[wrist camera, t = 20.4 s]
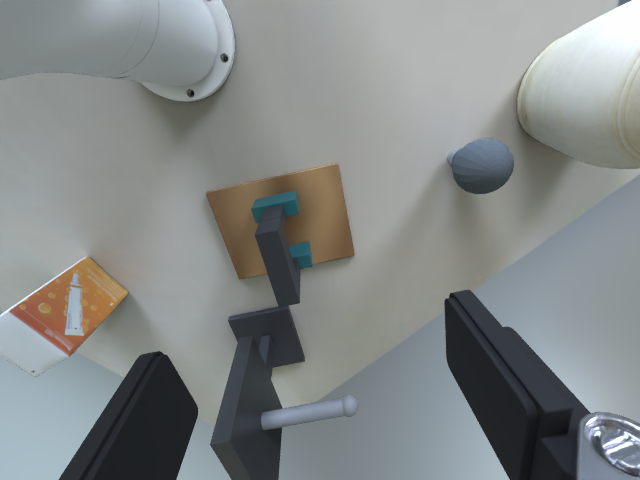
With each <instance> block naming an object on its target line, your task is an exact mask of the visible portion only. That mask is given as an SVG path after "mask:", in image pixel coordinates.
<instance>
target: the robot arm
mask: <svg viewBox="0 0 640 480" xmlns="http://www.w3.org/2000/svg"><path fill="white" fill-rule="evenodd" d="M234 53H235V40H234V32H233V28H232V23H231V20H230V17H229V15H228V12H227V10H226V8H225V6H224V4H223V3H222V1H221V0H212V1H209V0H0V80H2V79H8V78H13V77H18V76H24V75H29V74H35V73H47V72H56V73H73V74H82V75H91V76H97V77H105V78H113V79H122V80H130V81H138V82H140V83H142V84H143V85H144V86H145V87H147V88H148V89H149V90H151V91H152V92H154V93H156V94H158V95H160V96H162V97H164V98H167V99H171V100H174V101H185V102H186V101H196V100H200V99H204V98H206V97H208V96H210V95H212V94H213V93H214V92H216V91H217V90H218V89H219V88H220V87H221V86H222V84H223V83H224V82H225V81H226V79H227V77H228V75H229V73H230V71H231V68H232V64H233V61H234ZM224 57H227V58H228V61H227V62H225V61H224ZM192 91H194V96H193V95H192V94H191V92H192ZM445 328H446V355H447V356H446V357H447V363H448V366H449V368H450V370H451V372H452V374H453V376H454V378H455V380H456V381H457V383H458V385H459V387H460V389H461V391H462V393H463V394H464V396H465V398H466V400H467V402H468V403H469V405H470V407H471V409H472V411H473V413H474V414H475V416H476V418H477V420H478V422H479V424H480V426H481V427H482V429H483V431H484V433H485V435H486V437H487V438H488V440H489V442H490V444H491V446H492V448H493V449H494V451H495V453H496V455H497V457H498V459H499V460H500V462H501V464H502V466H503V468H504V470H505V471H506V473H507V475H508V477H509V479H510V480H640V424H639V423H637V422H635V421H633V420H630V419H628V418H626V417H623V416H620V415H616V414H612V413H607V412H595V413H590V412H589V411H588V410H587V409H586V408H585V407H584V405H583V404H582V403H581V402H580V401H579V400H578V399H577V398H576V397H575V396H574V394H573V393H572V392H571V391H570V390H569V389H568V388H567V387H566V386H565V385H564V384H563V382H562V381H561V380H560V379H559V378H558V377H557V376H556V375H555V374H554V373H553V372H552V370H550V368H549V367H548V366H547V365H546V364H545V363H544V362H543V361H542V360H541V359H540V357H539V356H538V355H537V354H536V353H535V352H534V351H533V350H532V349H531V348H530V347H529V345H528V344H527V343H526V342H525V341H524V340H523V339H522V338H521V337H520V336H519V335H518V333H517V332H516V331H514V330H513V329H512V328H510V327H502V326H501V325H500V323H499V322H498V321H497V320H496V319H495V318H494V316H493V315H492V314H491V313H490V312H489V311H488V310H487V309H486V307H484V305H483V304H482V303H481V302H480V301H479V299H478V298H477V297H476V296H475V295H474V294H473V293H472V292H471V291H470V290H464V291H459V292H454V293H450V295H449V298H448V299H445ZM197 416H198V407H197V404H196V403H195V401H194V399H193V398H192V396H191V394H190V393H189V391H188V389H187V387H186V386H185V384H184V382H183V381H182V379H181V377H180V376H179V374H178V372H177V371H176V369H175V367H174V366H173V364H172V362H171V360H170V359H169V357H168V356H167V355H164V354H163V353H162V352H160V351H157V352H152V353H147V354H142V355H140V356H139V357H138V358H137V360H136V361H135V363H134V364H133V366H132V368H131V369H130V371H129V372H128V374H127V375H126V377H125V378H124V380H123V381H122V383H121V385H120V386H119V388H118V389H117V391H116V392H115V394H114V395H113V397H112V398H111V400H110V401H109V403H108V404H107V406H106V408H105V409H104V411H103V412H102V414H101V415H100V417H99V418H98V420H97V421H96V423H95V425H94V426H93V428H92V429H91V431H90V432H89V434H88V435H87V437H86V438H85V440H84V441H83V443H82V445H81V446H80V448H79V449H78V451H77V452H76V454H75V455H74V457H73V458H72V460H71V461H70V463H69V465H68V466H67V468H66V469H65V471H64V472H63V474H62V475H61V477H60V479H59V480H176V478H177V476H178V473H179V470H180V467H181V464H182V461H183V458H184V455H185V452H186V449H187V446H188V443H189V440H190V437H191V434H192V431H193V428H194V426H195V422H196V419H197Z"/></svg>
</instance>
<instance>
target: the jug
mask: <svg viewBox="0 0 640 480" xmlns="http://www.w3.org/2000/svg"><path fill="white" fill-rule="evenodd" d="M517 114H518V118H519V121H520V124H521V125H522V127H523V129H524V130H525V131H526V132H527V133H528V134H529V135H530V136H531V137H533V138H535V139H537V140H538V141H539V142H541V143H543V144H545V145H547V146H549V147H551V148H553V149H555V150H557V151H559V152H561V153H563V154H566V155H568V156H570V157H572V158H574V159H577V160H579V161H582V162H584V163H587V164H591V165H595V166H600V167H606V168H617V169H635V168H640V0H632V1H630V2H628V3H626V4H624V5H622V6H620V7H618V8H616V9H614V10H612V11H610V12H608V13H606V14H604V15H602V16H600V17H598V18H596V19H594V20H592V21H590V22H588V23H586V24H585V25H583V26H581V27H579V28H577V29H576V30H574V31H572V32H571V33H569V34H568V35H566V36H564V37H561V38H560V39H558V40H556V41H555V42H553V43H552V44H550V45H549V46H548V47H547V48H545V49H544V50H543V51H542V52H541V53H540V54H539V55H538V56H537V58H536V59H535V60H534V61H533V63H532V64H531V65H530V67H529V68H528V70H527V72H526V73H525V75H524V77H523V80H522V82H521V85H520V88H519V92H518V97H517Z"/></svg>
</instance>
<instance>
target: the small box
mask: <svg viewBox="0 0 640 480" xmlns="http://www.w3.org/2000/svg"><path fill="white" fill-rule="evenodd" d="M128 294H129V292H127V291H126V290H125V289H124V288H123V287H121V286H120V285H119V284H118V283H117V282H116V281H115V280H114V279H113V278H111V277H110V276H109V275H108V274H107V273H106V272H105V271H104V270H103V269H102V268H100V267H99V266H98V265H97V264H96V263H95V262H94V261H93V260H92V259H91V258H90V257H89V256H86V257H84V258H83V259H81V260H80V261H78V262H77V263H75V264H74V265H72V266H71V267H69V268H68V269H66V270H65V271H63V272H62V273H60V274H59V275H57V276H56V277H54V278H53V279H52V280H50V281H49V282H47V283H46V284H44V285H43V286H41V287H40V288H38V289H37V290H36V291H34V292H33V293H31V294H30V295H28V296H27V297H26V298H24V299H23V300H21V301H20V302H18V303H17V304H15V305H14V306H13V307H11V308H10V309H8V310H7V311H5V312H4V313H2V314H1V315H0V356H1V357H3V358H4V359H6V360H7V361H9V362H11V363H13V364H15V365H16V366H18V367H19V368H21V369H22V370H24V371H25V372H27V373H29V374H30V375H31V376H33V377H37V376H39V375H40V374H42V373H43V372H45V371H46V370H48V369H50V368H51V367H53V366H55V365H56V364H58V363H60V362H61V361H63V360H65V359H66V358H68V357H70V356H71V355H72V354H73V353H74V352H75V351H76V350H77V348H78V347H79V346H80V345H81V344H82V343H83V342H84V341H85V340H86V339H87V338H88V337H89V336H90V335H91V334H92V333H93V332H94V330H95V329H96V328H97V327H98V326H99V325H100V324H101V323H102V322H103V321H104V320H105V319H106V318H107V317H108V316H109V315H110V313H111V312H112V311H113V310H114V309H115V308H116V307H117V306H118V305H119V304H120V303H121V302H122V300H123V299H124V298H125V297H126V296H127V295H128Z"/></svg>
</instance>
